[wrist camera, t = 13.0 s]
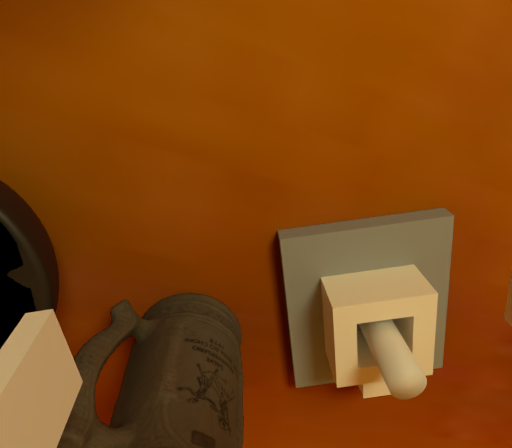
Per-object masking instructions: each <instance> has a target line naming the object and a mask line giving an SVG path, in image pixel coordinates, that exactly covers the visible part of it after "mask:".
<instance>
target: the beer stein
mask: <svg viewBox="0 0 512 448" xmlns="http://www.w3.org/2000/svg"><path fill="white" fill-rule="evenodd" d="M110 313H111V316H112V323H111V325H110V326H109V327H107V328H106V329H104V330H103V331H101V332H100V333H98V334H96V335H95V336H94V337H92V338H91V339H90V340H89V341H88V342H87V343H85V344H84V345H83V346H82V347H81V349H80V350H79V352H78V353H77V355H76V356H75V358H74V361H75V364H76V366H77V369H78V371H79V373H80V376H81V378H82V381H83V383H82V385H81V388H80V390H79V393H78V395H77V398H76V400H75V403H74V405H73V408H72V410H71V413H70V415H69V418H68V420H67V423H66V425H65V428H64V430H63V433H62V435H61V438H60V440H59V443H58V445H57V447H58V448H242V445H243V426H244V416H243V372H242V361H241V352H240V345H241V330H240V326H239V323H238V320H237V319H236V317H235V316H234V314H233V313H232V312H231V311H230V310H229V309H228V308H227V307H226V306H225V305H224V304H222V303H221V302H219V301H217V300H215V299H214V298H212V297H208V296H205V295H200V294H193V293H183V294H178V295H173V296H170V297H167V298H165V299H162V300H161V301H159V302H158V303H156V304H155V305H154V306H152V307H151V308H150V309H149V310H148V311H147V312H146V313H145V315H144V316H143V318H140V317H139V316H138V315H137V313H136V312H135V311H134V309H133V308H132V307H131V305H130V303H129V302H128V301H127V300H126V299H125V300H123V301H121V302H119V303H118V304H116V305H115V306H114V307H113V308H111V312H110ZM130 336H133V337H134V338H135V339H136V341H135V343H134V345H133V347H132V350H131V353H130V357H129V360H128V363H127V366H126V370H125V373H124V377H123V381H122V385H121V389H120V392H119V395H118V399H117V402H116V404H115V407H114V411H113V415H112V418H111V422H110V426H108V425H106V424H104V423H102V422H101V421H99V420H98V417H97V414H96V408H95V385H96V382H97V380H98V377H99V374H100V371H101V369H102V367H103V365H104V364H105V363H106V361H107V359H108V358H109V356H110V355H111V354H112V353H113V352H114V351H115V349H116V348H117V347H118V346H119V345H120V344H121V343H122V342H123V341H124V340H125V339H126V338H127V337H130Z"/></svg>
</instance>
